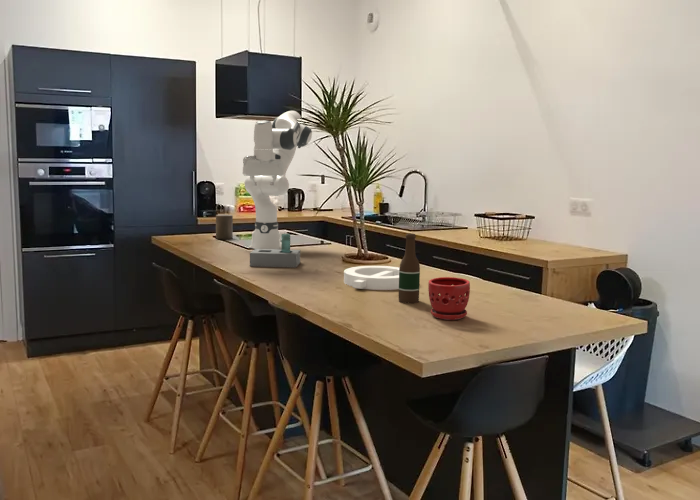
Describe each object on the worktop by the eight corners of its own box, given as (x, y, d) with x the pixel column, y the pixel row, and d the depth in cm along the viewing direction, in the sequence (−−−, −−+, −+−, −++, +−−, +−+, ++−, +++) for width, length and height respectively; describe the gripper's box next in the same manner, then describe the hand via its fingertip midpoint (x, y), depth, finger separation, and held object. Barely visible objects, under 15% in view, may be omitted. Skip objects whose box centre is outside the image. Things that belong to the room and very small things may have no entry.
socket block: (255, 261, 313) (255, 248, 312) (300, 262, 312) (300, 249, 311) (249, 266, 300) (249, 252, 300) (296, 267, 299) (296, 254, 298)
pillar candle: (224, 240, 383) (224, 213, 381) (212, 238, 388) (212, 212, 386) (236, 238, 391) (236, 212, 389) (223, 237, 396) (224, 211, 394)
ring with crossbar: (354, 291, 252) (354, 279, 251) (336, 278, 279) (336, 266, 278) (424, 289, 260) (424, 277, 259) (399, 275, 286) (400, 264, 286)
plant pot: (431, 310, 224) (432, 275, 222) (470, 314, 220) (472, 278, 218) (423, 320, 211) (425, 282, 209) (465, 323, 207) (467, 285, 206)
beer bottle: (423, 303, 234) (425, 235, 231) (402, 304, 232) (404, 235, 228) (414, 298, 242) (416, 232, 238) (394, 299, 239) (396, 232, 236)
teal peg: (280, 264, 307) (280, 233, 305) (288, 263, 309) (288, 233, 307) (283, 265, 304) (283, 235, 301) (291, 265, 305) (291, 234, 303)
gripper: (246, 155, 304) (246, 186, 306) (285, 156, 316) (285, 185, 318) (240, 155, 309) (240, 185, 311) (278, 155, 321) (278, 184, 323)
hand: (263, 185), depth 314 cm, fingers open, 8 cm apart
